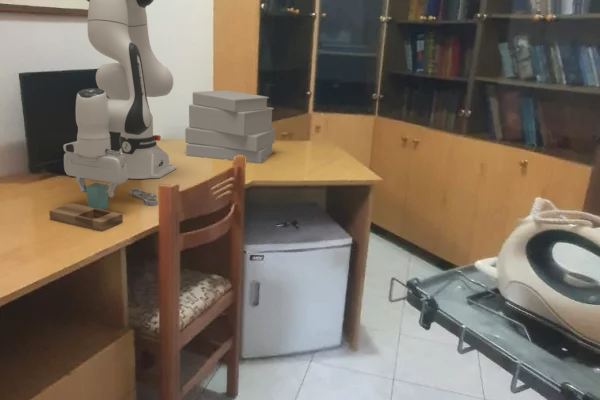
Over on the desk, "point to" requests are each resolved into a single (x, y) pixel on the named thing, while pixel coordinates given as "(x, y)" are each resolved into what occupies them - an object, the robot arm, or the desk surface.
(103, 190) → the teal square prism
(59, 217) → the brown frame
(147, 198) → the bracket
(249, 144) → the book stack
